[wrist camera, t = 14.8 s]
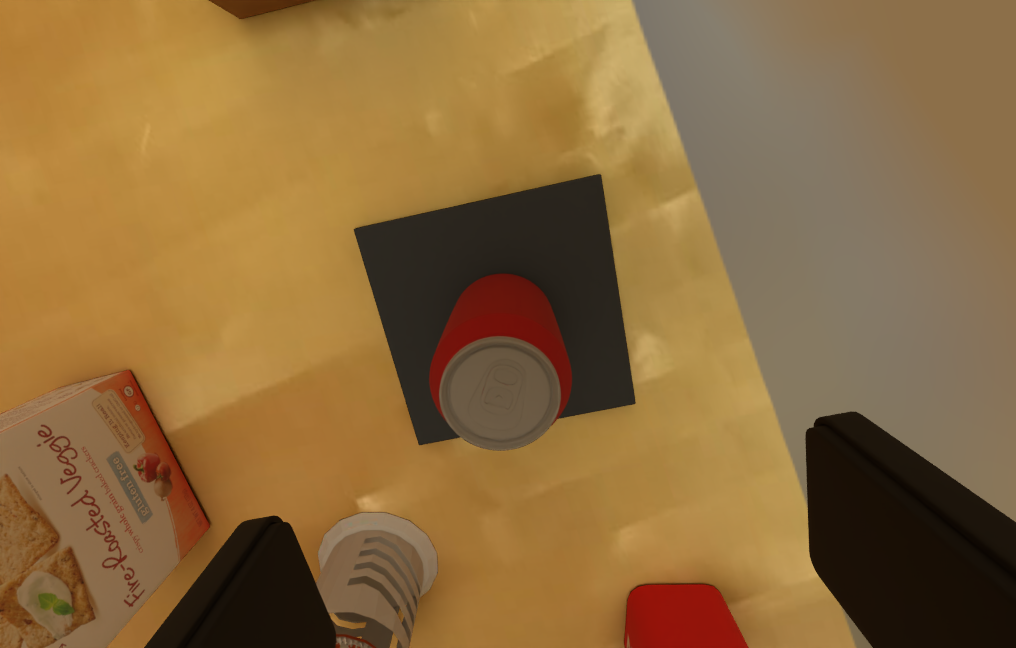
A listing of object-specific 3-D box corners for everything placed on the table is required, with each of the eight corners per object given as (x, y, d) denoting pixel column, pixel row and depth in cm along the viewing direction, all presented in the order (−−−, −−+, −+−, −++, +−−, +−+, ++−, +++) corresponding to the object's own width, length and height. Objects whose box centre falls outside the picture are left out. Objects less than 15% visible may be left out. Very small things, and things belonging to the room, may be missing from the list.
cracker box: (218, 523, 38) (-102, 903, 18) (148, 539, 39) (-238, 927, 19) (135, 364, 34) (-388, 624, 14) (59, 383, 35) (-553, 663, 15)
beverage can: (442, 351, 33) (406, 443, 22) (468, 257, 31) (444, 303, 20) (535, 377, 34) (549, 480, 22) (566, 287, 32) (599, 348, 20)
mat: (598, 174, 30) (600, 174, 30) (633, 399, 35) (635, 404, 34) (356, 227, 31) (353, 229, 31) (420, 440, 36) (418, 445, 35)
